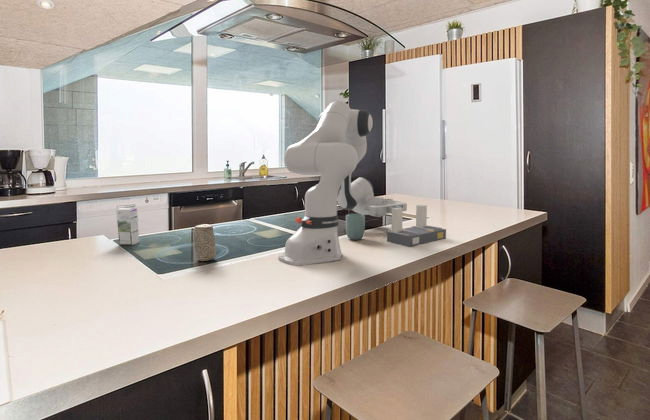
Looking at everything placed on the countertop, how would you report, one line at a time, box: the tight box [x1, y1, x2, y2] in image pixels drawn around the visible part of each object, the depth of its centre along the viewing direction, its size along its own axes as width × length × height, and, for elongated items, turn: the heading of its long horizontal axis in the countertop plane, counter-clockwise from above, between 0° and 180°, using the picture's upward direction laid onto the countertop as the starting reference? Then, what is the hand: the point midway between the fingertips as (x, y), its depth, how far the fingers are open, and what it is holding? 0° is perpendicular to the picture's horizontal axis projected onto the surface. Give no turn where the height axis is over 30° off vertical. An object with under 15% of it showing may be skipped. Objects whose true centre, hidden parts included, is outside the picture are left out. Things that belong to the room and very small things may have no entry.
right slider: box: [415, 204, 428, 227], centre depth 178 cm, size 3×3×9 cm
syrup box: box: [115, 206, 140, 246], centre depth 170 cm, size 6×6×14 cm
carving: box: [193, 223, 217, 262], centre depth 144 cm, size 6×8×12 cm
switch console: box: [386, 224, 447, 248], centre depth 172 cm, size 22×12×4 cm, turn 128°
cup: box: [345, 213, 366, 241], centre depth 175 cm, size 8×8×10 cm
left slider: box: [390, 208, 404, 232], centre depth 169 cm, size 3×3×9 cm
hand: (400, 210), depth 187 cm, fingers closed
